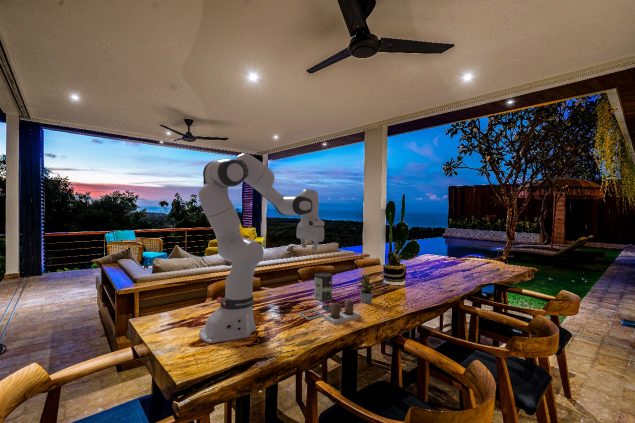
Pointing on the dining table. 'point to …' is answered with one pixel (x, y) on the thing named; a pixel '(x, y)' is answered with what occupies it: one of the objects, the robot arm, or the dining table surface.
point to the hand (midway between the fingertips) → (309, 248)
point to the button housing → (327, 308)
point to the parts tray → (312, 317)
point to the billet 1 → (335, 310)
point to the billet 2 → (348, 307)
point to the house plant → (366, 290)
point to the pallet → (342, 317)
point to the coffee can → (323, 287)
